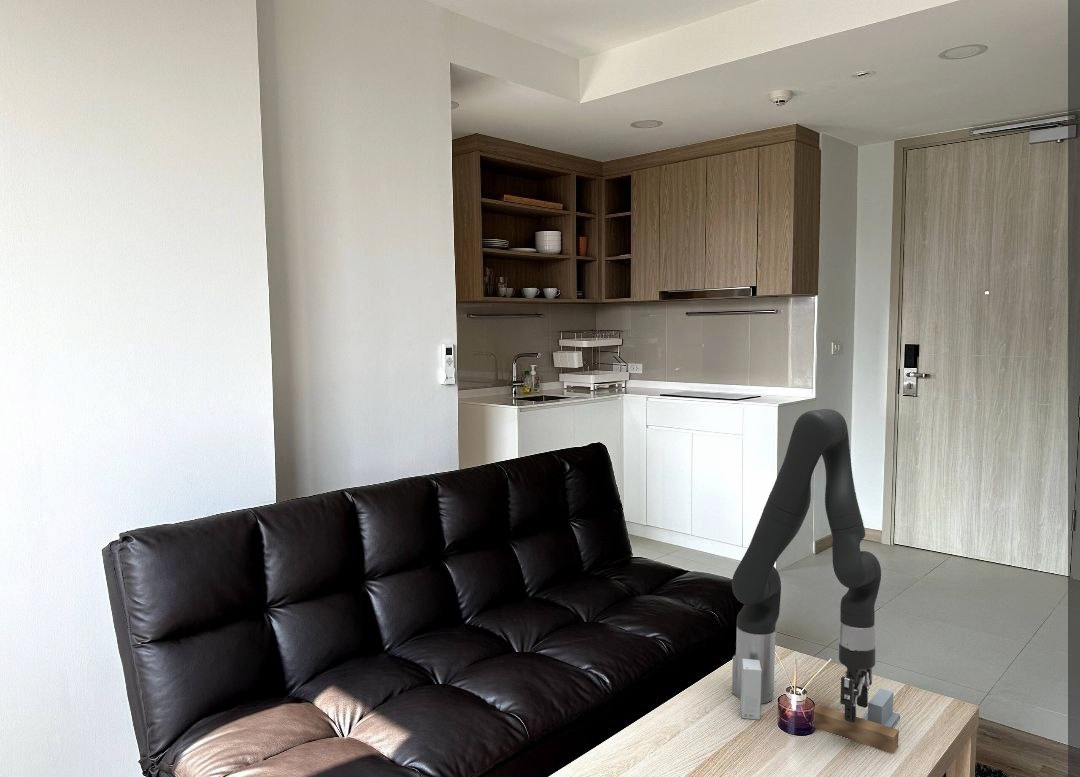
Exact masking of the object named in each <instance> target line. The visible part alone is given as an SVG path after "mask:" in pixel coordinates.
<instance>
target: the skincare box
mask: <svg viewBox="0 0 1080 777" xmlns="http://www.w3.org/2000/svg"><path fill="white" fill-rule="evenodd" d="M760 702H761V665H760V661H759V660H752V659H742V677H741V699H740V714H741V718H742V719H747V720H748V719H749V720H758V721H759V720H760V719H761V703H760Z"/></svg>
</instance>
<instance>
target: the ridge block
mask: <svg viewBox="0 0 1080 777" xmlns="http://www.w3.org/2000/svg"><path fill="white" fill-rule="evenodd" d="M862 719H865V720H869V721H872V722H875V723H878V724H881V725H884V726H888V727H891V728H894V727H895V726H896V725H897V723H898V722H899V720H900V719H901V714H900V713H898V712H895V711H894V692H893V691H890V690H886V689H883V688H879V689H878V690H877V691H876V692H875V694H874V695H873V696H872V697H871V699H870V700H868V706H867V713H866V714H865V715H864V717H863V718H862ZM897 721H898V722H897Z"/></svg>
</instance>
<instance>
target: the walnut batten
mask: <svg viewBox="0 0 1080 777" xmlns="http://www.w3.org/2000/svg"><path fill="white" fill-rule="evenodd" d="M814 706H815V709H814V724H815V728H814V729H816V730H819V729H820V731H822V730H823V732H825V731H826V732H825V733H828V732H829V734H831V733H832V734H831V735H834V734H835V736H837V735H839V736H838V737H840V736H842V737H841V738H843V737H845V738H844V739H846V738H848V739H847V740H849V739H850V741H852V740H853V741H852V742H855V741H856V743H858V744H861V745H864V746H867V747H871V748H874V749H876V750H879V751H882V752H885V753H888V754H892V755H893V754H894V753H895V751H896V750H897V749H898V747H899V733H900V730H899V729H897V728H894V727H893V728H891V727H888V726H884V725H881V724H878V723H875V722H872V721H869V720H865V719H863V718H861V717H859V716H856V721H855V722H854V723H852V722H849V721H846V720H845V718H844V716H845V712H842V711H840V710H836V709H833V708H830V707H828V706H827V707H826V706H824V705H821V704H815V705H814Z"/></svg>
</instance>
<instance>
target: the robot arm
mask: <svg viewBox="0 0 1080 777" xmlns="http://www.w3.org/2000/svg"><path fill="white" fill-rule="evenodd" d="M850 450H851V449H850V438H849V429H848V424H847V421H846V419H845V417H844V416H843V415H842V413H840V412H839V411H837V410H835V409H833V408H823V409H822V408H821V409H815V410H814V409H813V410H808V411H806V412H804V413H802V414H800V416H799V417H798V418H797V420H796V421H795V423H794V426H793V429H792V431H791V435H790V439H789V443H788V445H787V449H786V453H785V456H784V459H783V462H782V465H781V467H780V469H779V471H778V474H777V476H776V479H775V481H774V484H773V486H772V487H771V488H772V489H771V491H770V492H769V493H770V494H769V495H768V496H767V497H768V498H767V499H766V503H765V504H764V507H763V510H762V513H761V516H760V518H759V521H758V522H757V525H756V528H755V531H754V533H753V536H752V538H751V541H750V543H749V545H748V547H747V550H746V551H745V553H744V555H743V557H742V558H741V560H740V562H739V564H738V565H737V567H736V570H735V571H734V573H733V576H732V579H731V589H732V593H733V596H734V597H735V598H736V599H737V601H738V602H740V603H741V604H743V606H742V608H741V609H740V610H739V612H738V614H737V616H736V642H735V646H736V647H735V648H736V649H735V654H734V655H733V656H732V673H731V675H732V678H731V694H732V695H734V696H736V697H737V698H738V699H740V700H741V677H742V659H752V660H759V661H760V665H761V702H760V704H767V703H769V701H770V702H772V701H773V700H774V698H773V697H774V696H775V668H776V667H775V664H776V662H775V661H776V660H775V659H776V656H775V655H776V629H777V628H776V625H777V622H778V620H779V616H780V610H781V598H782V596H781V595H782V584H781V583H782V580H781V576H780V574H779V570H777V568H776V567H775V564H776V562H777V561H778V559H779V557H780V556H781V555H782V553H783V552H784V551H785V550H786V549H787V547H788V546H789V545H790V543H791V542H792V541H793V540H794V539H795V537H796V536H797V534H798V533H799V531H800V529H801V528H802V525H803V523H804V521H805V519H806V516H807V514H808V512H809V509H810V506H811V500H812V498H811V497H812V477H813V473H814V471H815V468H816V466H817V464H818V462H819V460H820V458H821V457H822V459H823V464H824V468H825V469H824V471H825V489H824V490H825V491H824V493H825V494H824V507H825V513H826V517H827V521H828V524H829V529H830V532H831V535H832V536H831V537H832V541H831V542H832V544H831V547H832V549H831V550H832V555H831V556H832V568H833V572H834V574H835V576H836V577H835V578H836V579H837V581H838V582H839V583H840V584H841V585H842V586H843V587H845V588H847V592H846V593H845V594H844V595H843V596H842V598H841V599H840V608H839V609H840V610H839V611H840V612H839V613H840V617H839V618H840V620H839V628H838V661H839V663H840V664H842V665H844V666H845V668H846V671H845V672H844V676H841V678H840V697H839V698H840V700H839V702H840V704H841V705H843V706H844V713H845V716H844V718H845V720H846V721H849V722H852V723H854V722H855V721H856V717H857V706H858V707H861V708H868V702H869V690H870V686H871V685H872V684H873V680H872V678H873V677H872V676H873V673H872V669H873V668H874V667H875V665H876V640H877V639H876V635H877V634H876V629H875V628H876V626H875V624H876V623H875V621H876V620H875V618H876V617H875V615H876V614H875V613H876V611H875V605H876V601H877V599H878V594H879V589H880V585H881V580H882V567H881V564H880V561H879V560H878V558H877V557H876V555H874V554H873V553H872V552H870V551H867V550H861V542H862V541H863V540H864V538H865V537H866V530H865V525H864V520H863V518H862V514H861V510H860V506H859V502H858V501H859V500H858V498H857V494H856V487H855V483H854V476H853V468H852V459H851V451H850ZM772 699H773V700H772ZM771 700H772V701H771Z"/></svg>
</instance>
